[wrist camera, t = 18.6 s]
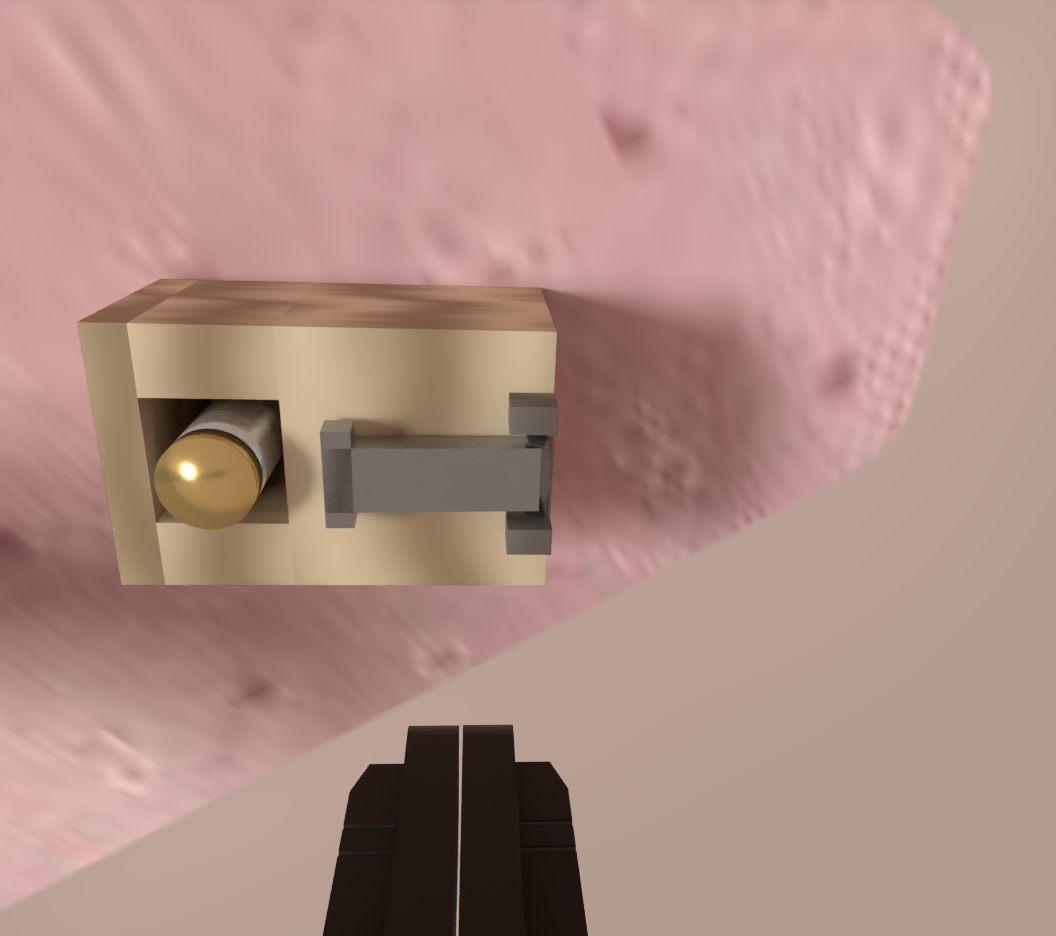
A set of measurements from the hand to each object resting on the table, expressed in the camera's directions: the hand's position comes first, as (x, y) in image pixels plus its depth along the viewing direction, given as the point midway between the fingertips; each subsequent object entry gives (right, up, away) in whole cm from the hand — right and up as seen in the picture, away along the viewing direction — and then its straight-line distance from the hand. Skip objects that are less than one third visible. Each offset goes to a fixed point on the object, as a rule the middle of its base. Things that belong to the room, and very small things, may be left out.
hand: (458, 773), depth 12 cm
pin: (-11, +8, +26) cm, 29 cm away
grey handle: (-2, +4, +18) cm, 19 cm away
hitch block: (-7, +8, +26) cm, 28 cm away
